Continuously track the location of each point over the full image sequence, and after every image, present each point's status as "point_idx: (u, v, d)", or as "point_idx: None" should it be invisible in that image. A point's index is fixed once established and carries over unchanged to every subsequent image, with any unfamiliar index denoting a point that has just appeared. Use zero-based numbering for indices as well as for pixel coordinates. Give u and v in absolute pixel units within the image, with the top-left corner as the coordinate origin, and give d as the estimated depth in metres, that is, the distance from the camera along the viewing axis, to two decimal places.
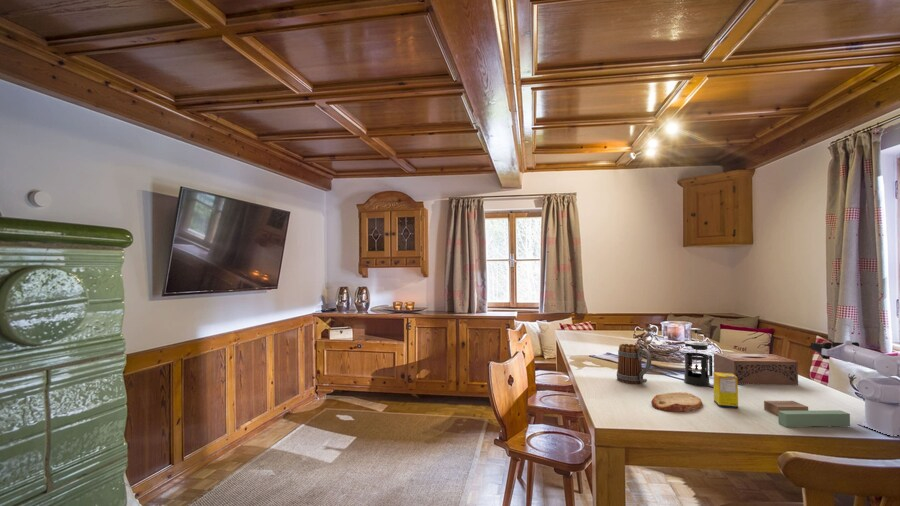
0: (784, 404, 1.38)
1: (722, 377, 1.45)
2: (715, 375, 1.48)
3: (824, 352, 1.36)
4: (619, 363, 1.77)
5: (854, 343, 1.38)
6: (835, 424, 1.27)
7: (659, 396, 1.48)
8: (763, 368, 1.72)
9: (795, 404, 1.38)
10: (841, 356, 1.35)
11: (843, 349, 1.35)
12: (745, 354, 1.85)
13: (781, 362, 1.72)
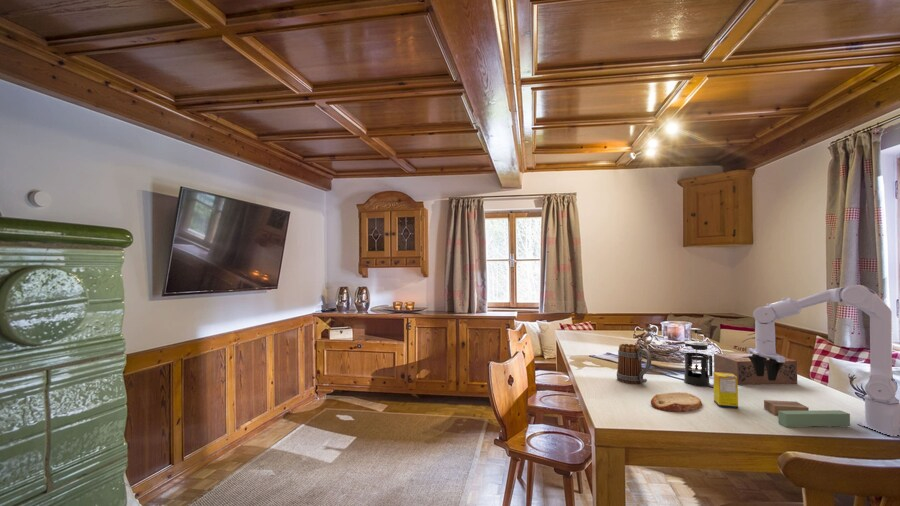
0: (783, 404, 1.38)
1: (722, 377, 1.45)
2: (715, 375, 1.48)
3: (782, 359, 1.40)
4: (619, 363, 1.77)
5: (751, 356, 1.51)
6: (835, 424, 1.27)
7: (658, 396, 1.48)
8: (765, 368, 1.72)
9: (796, 404, 1.38)
10: (774, 352, 1.45)
11: (767, 351, 1.45)
12: (744, 354, 1.85)
13: None
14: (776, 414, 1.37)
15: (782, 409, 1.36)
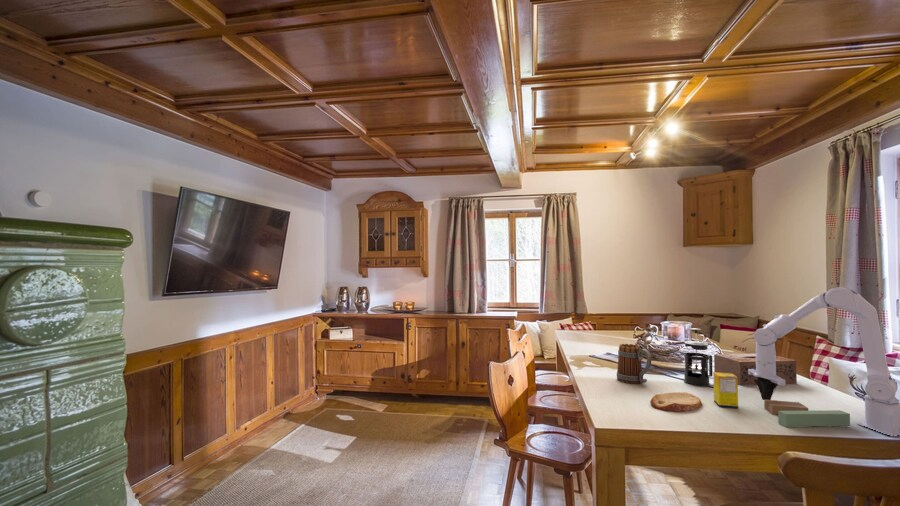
0: (782, 403, 1.39)
1: (722, 377, 1.45)
2: (715, 375, 1.48)
3: (782, 382, 1.40)
4: (619, 363, 1.77)
5: (757, 380, 1.48)
6: (835, 424, 1.27)
7: (658, 396, 1.48)
8: None
9: (796, 405, 1.37)
10: (774, 375, 1.45)
11: (767, 373, 1.45)
12: (743, 354, 1.85)
13: (782, 361, 1.73)
14: (774, 413, 1.37)
15: (780, 409, 1.37)
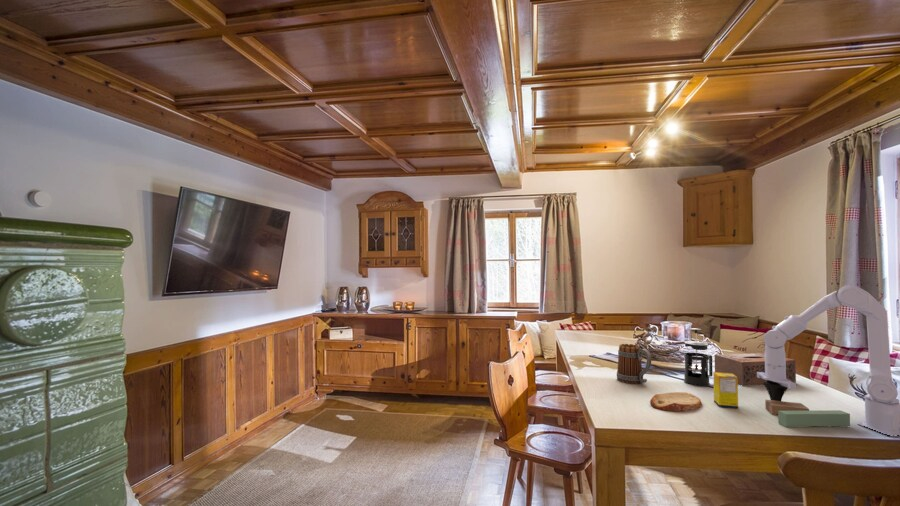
0: (783, 404, 1.38)
1: (722, 377, 1.45)
2: (715, 375, 1.48)
3: (793, 386, 1.36)
4: (619, 363, 1.77)
5: (766, 383, 1.44)
6: (835, 424, 1.27)
7: (658, 395, 1.48)
8: None
9: (797, 405, 1.37)
10: (784, 378, 1.41)
11: (777, 377, 1.41)
12: (743, 354, 1.85)
13: None
14: (773, 413, 1.37)
15: (780, 409, 1.36)
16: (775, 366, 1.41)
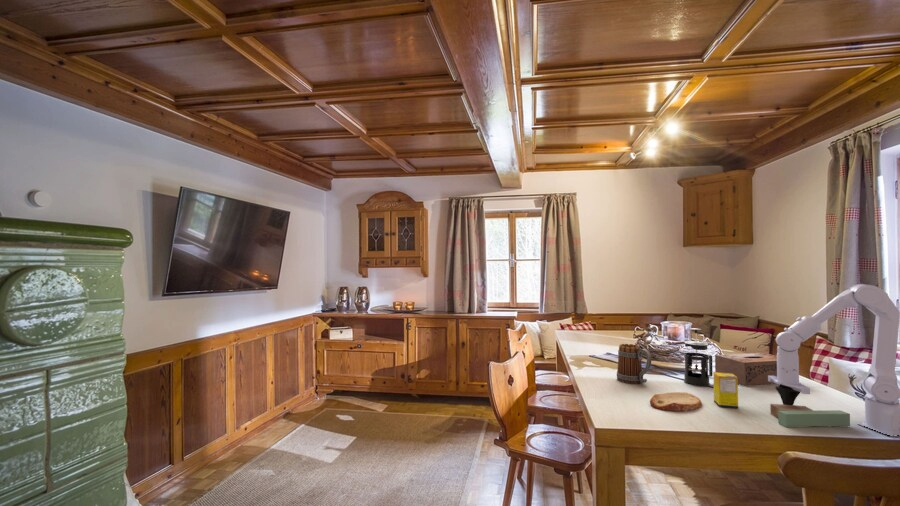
0: (790, 408, 1.34)
1: (722, 377, 1.45)
2: (715, 375, 1.48)
3: (807, 391, 1.31)
4: (619, 363, 1.77)
5: (779, 388, 1.38)
6: (835, 424, 1.27)
7: (658, 395, 1.48)
8: (768, 368, 1.72)
9: (803, 409, 1.33)
10: (797, 382, 1.35)
11: (790, 381, 1.35)
12: (742, 354, 1.85)
13: None
14: None
15: None
16: (788, 370, 1.36)
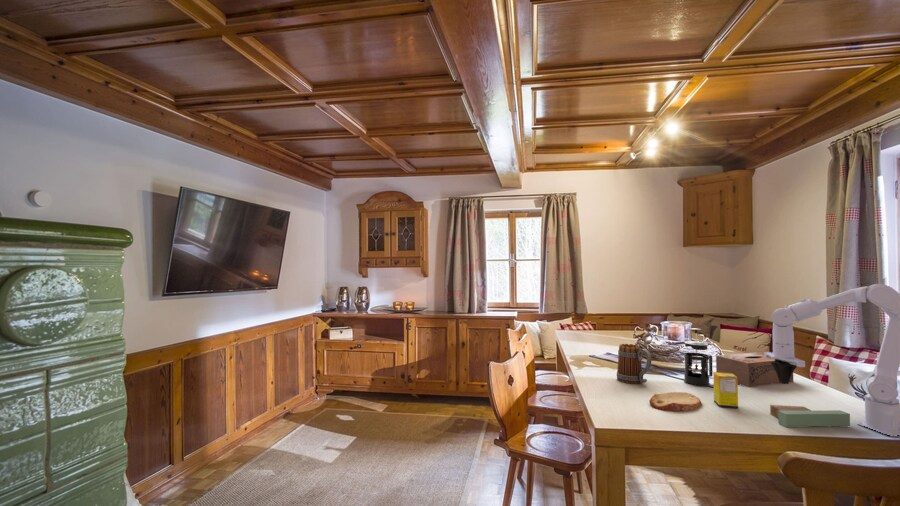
0: (790, 409, 1.33)
1: (722, 377, 1.45)
2: (715, 375, 1.48)
3: (802, 364, 1.34)
4: (619, 363, 1.77)
5: (774, 362, 1.42)
6: (835, 424, 1.27)
7: (657, 395, 1.49)
8: (769, 368, 1.72)
9: (803, 410, 1.33)
10: (793, 357, 1.39)
11: (785, 355, 1.39)
12: (741, 354, 1.85)
13: None
14: None
15: None
16: (783, 344, 1.39)
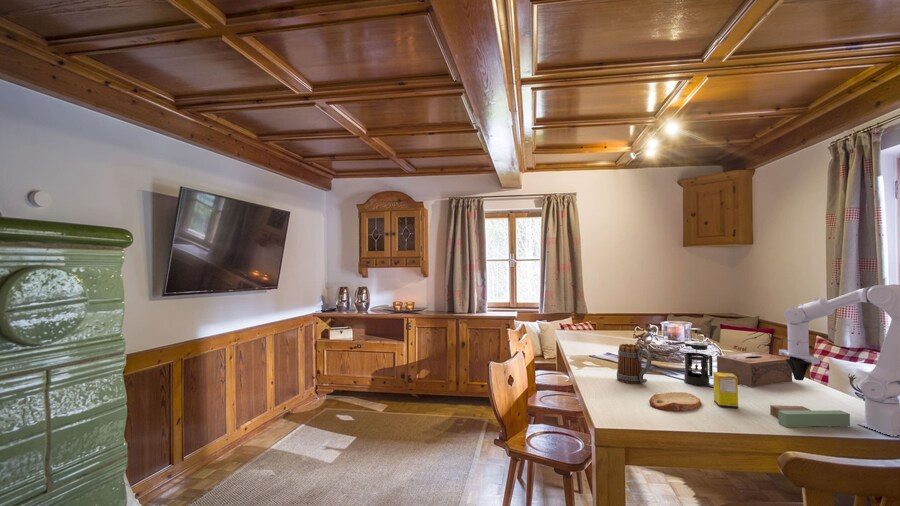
0: (790, 409, 1.33)
1: (722, 377, 1.45)
2: (715, 375, 1.48)
3: (817, 361, 1.38)
4: (619, 363, 1.77)
5: (789, 359, 1.46)
6: (835, 424, 1.27)
7: (657, 395, 1.49)
8: (770, 368, 1.72)
9: (803, 409, 1.33)
10: (807, 354, 1.43)
11: (800, 352, 1.43)
12: (741, 354, 1.85)
13: (781, 360, 1.75)
14: None
15: None
16: (798, 342, 1.43)
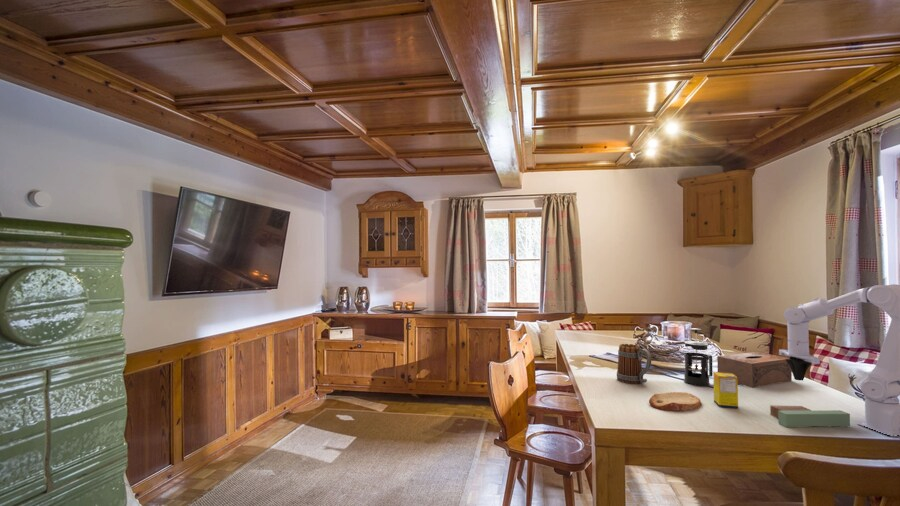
0: (791, 409, 1.33)
1: (722, 377, 1.45)
2: (715, 375, 1.48)
3: (817, 361, 1.38)
4: (619, 363, 1.77)
5: (789, 359, 1.46)
6: (835, 424, 1.27)
7: (657, 395, 1.49)
8: (770, 368, 1.72)
9: (803, 409, 1.33)
10: (807, 354, 1.43)
11: (800, 352, 1.43)
12: (740, 354, 1.85)
13: (781, 360, 1.75)
14: None
15: None
16: (798, 342, 1.43)
